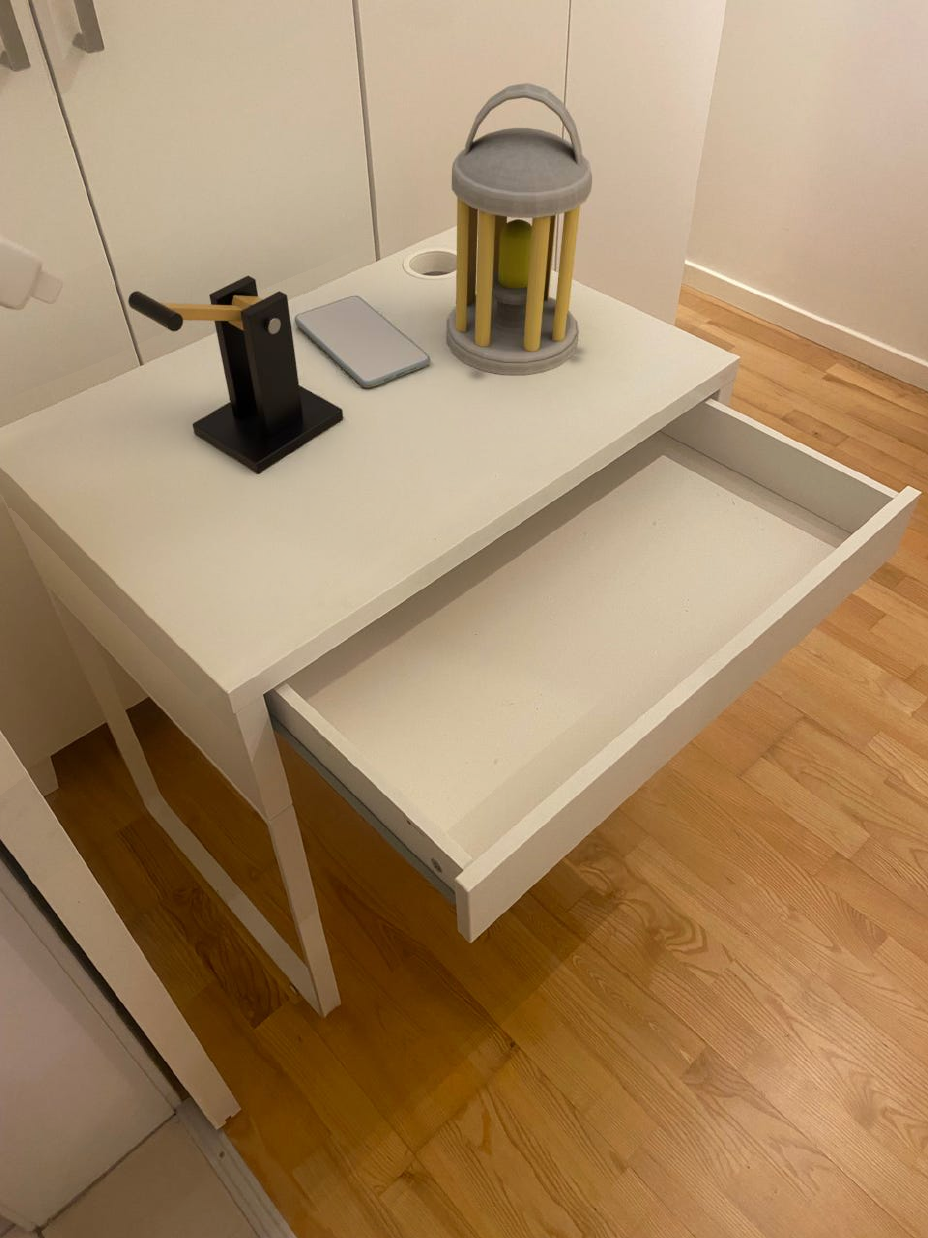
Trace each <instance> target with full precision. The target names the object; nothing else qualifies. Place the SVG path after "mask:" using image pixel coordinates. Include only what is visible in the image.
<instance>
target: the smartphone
mask: <svg viewBox="0 0 928 1238" xmlns="http://www.w3.org/2000/svg"><path fill="white" fill-rule="evenodd" d="M294 324H295V325H296V326H297V327H298V328H299V329H300V330H301V331H303V332H304V333H305V334H306V335H307V336H308V337H309V338H310V339H311V340H312V341H313V342H314V343H315V344H316V345H317V346H319V347H320V348H321V349H322V350H323V351H324V352H325V353H326V354H327V355H328V356H329V358H331V359H332V360H333V361H334V362H336V363H337V364H338V365H339V366H340V367H341V368H342V369H343V370H344V371H345V372H346V373H347V374H348V375H350V376H351V377H352V379H354V380H355V382H357V383H358V384H359V385H360V386H361V387H363V388H365V389H370V388H374V387H376V386H379V385H381V384H384V383H386V382H389V381H392V380H394V379H397V378H399V377H402V376H404V375H408V374H410V373H413V372H415V371H417V370H420V369H422V368H426V367H427V366H429V365H430V364H431V356H430V355H429V354H428V353H427V352H426V351H424V349H422V348H421V347H420V346H419V345H417V344H416V343H415V342H414V341H412V340H411V338H409V337H408V336H407V335H406V334H404V333H403V332H402V331H401V330H400V329H398V328H397V326H395V325H394V324H393V323H391V322H390V321H389V320H388V319H387V318H385V316H383V315H382V314H381V313H380V312H379V311H377V309H375V308H374V307H373V306H371V304H369V303H368V302H367V301H365V300H364V299H363V298H362V297H361V296H359V295H350V296H348V297H344V298H341V299H338V300H335V301H332V302H330V303H327V304H324V305H320V306H318V307H315V308H312V309H310V310H307V311H304V312H300V313H297V314H296V315H295V316H294Z"/></svg>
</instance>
